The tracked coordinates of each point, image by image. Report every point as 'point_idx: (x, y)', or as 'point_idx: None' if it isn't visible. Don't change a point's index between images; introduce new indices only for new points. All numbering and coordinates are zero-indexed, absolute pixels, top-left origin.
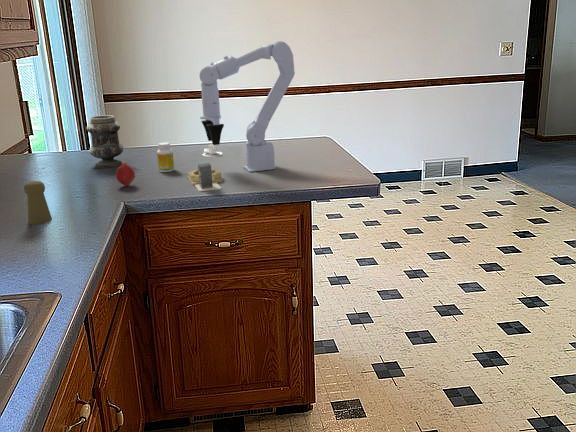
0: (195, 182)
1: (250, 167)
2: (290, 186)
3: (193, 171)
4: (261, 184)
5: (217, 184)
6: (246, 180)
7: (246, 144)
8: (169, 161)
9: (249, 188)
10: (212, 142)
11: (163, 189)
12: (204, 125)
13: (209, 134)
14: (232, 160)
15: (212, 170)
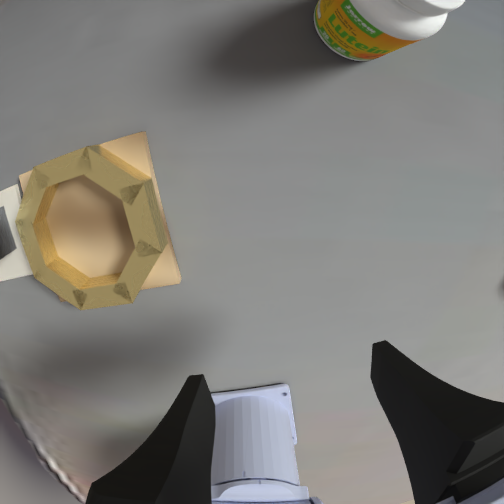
0: (25, 187)
1: (220, 407)
2: (46, 432)
3: (105, 173)
4: (50, 391)
5: (18, 274)
6: (87, 369)
7: (262, 477)
8: (336, 21)
9: (11, 356)
10: (187, 386)
11: (7, 60)
12: (441, 425)
13: (394, 386)
14: (421, 339)
15: (121, 274)
